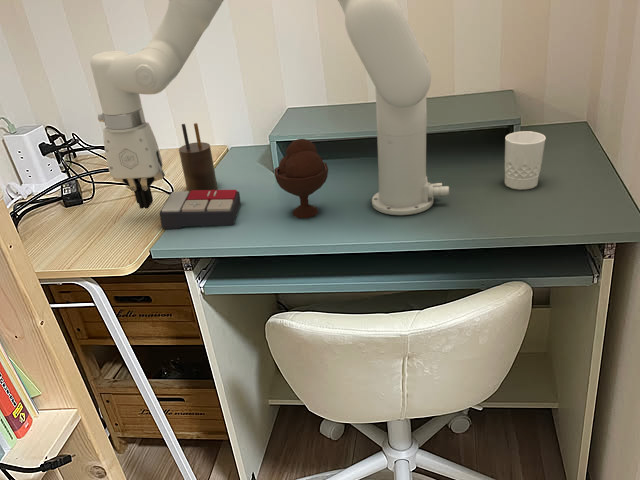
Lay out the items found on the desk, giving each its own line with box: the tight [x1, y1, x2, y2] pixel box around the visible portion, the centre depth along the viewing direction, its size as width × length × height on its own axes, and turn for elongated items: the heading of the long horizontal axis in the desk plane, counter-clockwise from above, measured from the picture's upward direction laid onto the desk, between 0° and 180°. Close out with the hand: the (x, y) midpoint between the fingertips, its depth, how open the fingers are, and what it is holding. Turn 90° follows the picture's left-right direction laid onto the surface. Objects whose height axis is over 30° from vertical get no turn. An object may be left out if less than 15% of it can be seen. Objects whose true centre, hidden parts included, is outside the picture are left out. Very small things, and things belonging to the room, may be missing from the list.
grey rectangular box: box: [159, 189, 242, 230], centre depth 135 cm, size 11×4×15 cm
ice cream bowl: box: [274, 138, 329, 219], centre depth 129 cm, size 11×11×15 cm
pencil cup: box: [178, 122, 218, 192], centre depth 145 cm, size 7×7×16 cm
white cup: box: [504, 130, 547, 191], centre depth 134 cm, size 8×8×10 cm
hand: (146, 205), depth 136 cm, fingers closed
